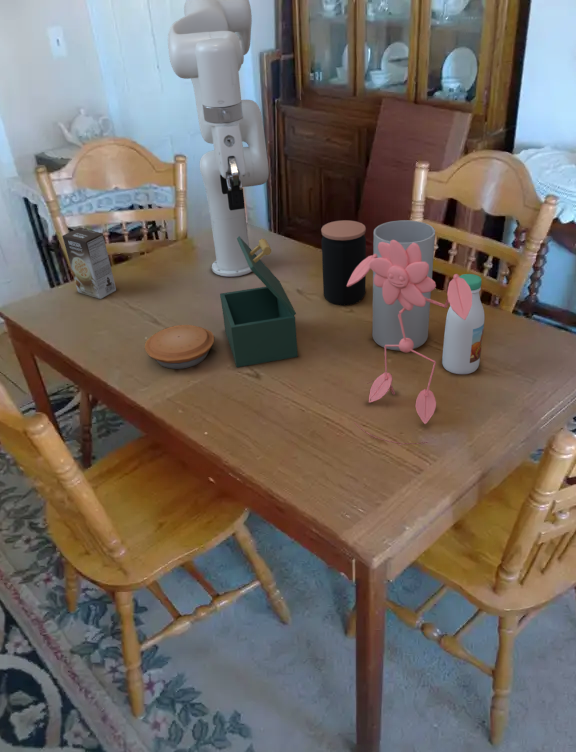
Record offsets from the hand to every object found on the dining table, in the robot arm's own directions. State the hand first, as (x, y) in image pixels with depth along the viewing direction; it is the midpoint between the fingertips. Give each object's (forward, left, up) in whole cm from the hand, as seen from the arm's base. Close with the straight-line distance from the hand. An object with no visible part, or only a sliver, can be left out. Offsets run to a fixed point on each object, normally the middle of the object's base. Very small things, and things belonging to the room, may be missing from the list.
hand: (233, 200), depth 138 cm
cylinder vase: (+15, +32, -31) cm, 47 cm away
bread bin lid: (+7, +4, -15) cm, 17 cm away
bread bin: (+7, +1, -31) cm, 32 cm away
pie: (+7, -17, -31) cm, 36 cm away
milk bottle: (+30, +40, -31) cm, 59 cm away
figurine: (+43, +20, -31) cm, 57 cm away
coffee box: (-35, -36, -31) cm, 58 cm away
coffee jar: (-9, +26, -31) cm, 42 cm away
